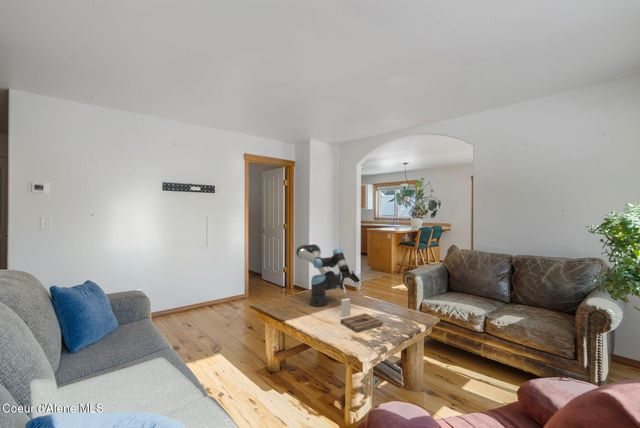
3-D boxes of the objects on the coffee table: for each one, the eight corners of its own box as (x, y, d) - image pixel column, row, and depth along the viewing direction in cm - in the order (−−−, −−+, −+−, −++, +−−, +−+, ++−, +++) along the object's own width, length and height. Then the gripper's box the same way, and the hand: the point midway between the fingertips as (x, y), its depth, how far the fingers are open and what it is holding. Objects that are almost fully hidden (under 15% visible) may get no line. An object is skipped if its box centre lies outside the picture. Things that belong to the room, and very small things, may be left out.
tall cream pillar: (341, 315, 212) (341, 299, 212) (347, 314, 215) (347, 298, 215) (343, 317, 209) (343, 300, 209) (350, 315, 212) (350, 299, 212)
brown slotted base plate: (340, 322, 199) (340, 319, 199) (365, 316, 210) (365, 313, 210) (356, 332, 183) (356, 328, 183) (382, 325, 194) (382, 321, 194)
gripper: (332, 266, 221) (341, 292, 211) (357, 263, 234) (367, 287, 224) (327, 270, 227) (336, 296, 216) (353, 267, 239) (362, 291, 229)
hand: (352, 292), depth 220 cm, fingers open, 13 cm apart
